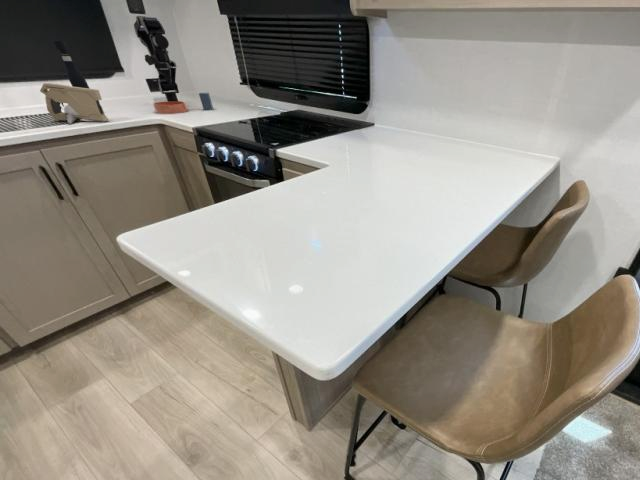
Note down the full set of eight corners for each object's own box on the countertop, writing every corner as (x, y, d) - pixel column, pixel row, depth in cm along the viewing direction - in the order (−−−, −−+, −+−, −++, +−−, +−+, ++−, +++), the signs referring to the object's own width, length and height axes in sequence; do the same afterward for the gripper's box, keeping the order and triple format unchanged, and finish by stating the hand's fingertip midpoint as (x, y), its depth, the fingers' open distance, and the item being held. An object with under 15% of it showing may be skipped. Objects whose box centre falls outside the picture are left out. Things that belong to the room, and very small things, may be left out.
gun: (51, 120, 153) (33, 82, 144) (57, 119, 155) (39, 81, 146) (107, 126, 155) (93, 89, 146) (112, 125, 158) (98, 89, 149)
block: (205, 109, 189) (200, 92, 184) (213, 108, 190) (208, 92, 185) (203, 110, 186) (198, 93, 181) (212, 109, 187) (207, 93, 182)
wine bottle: (83, 113, 171) (45, 40, 152) (96, 111, 175) (61, 40, 157) (91, 114, 169) (54, 40, 150) (104, 112, 173) (70, 41, 155)
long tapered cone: (80, 113, 149) (77, 103, 159) (62, 116, 146) (61, 105, 157) (88, 126, 153) (85, 115, 163) (72, 129, 150) (70, 118, 161)
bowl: (160, 109, 185) (157, 101, 182) (190, 109, 188) (187, 100, 186) (152, 114, 173) (149, 105, 171) (184, 113, 177) (181, 104, 174)
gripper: (147, 48, 177) (160, 82, 187) (136, 48, 163) (150, 85, 173) (170, 48, 180) (182, 82, 190) (161, 48, 166) (174, 85, 176)
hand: (172, 83), depth 182 cm, fingers open, 9 cm apart
